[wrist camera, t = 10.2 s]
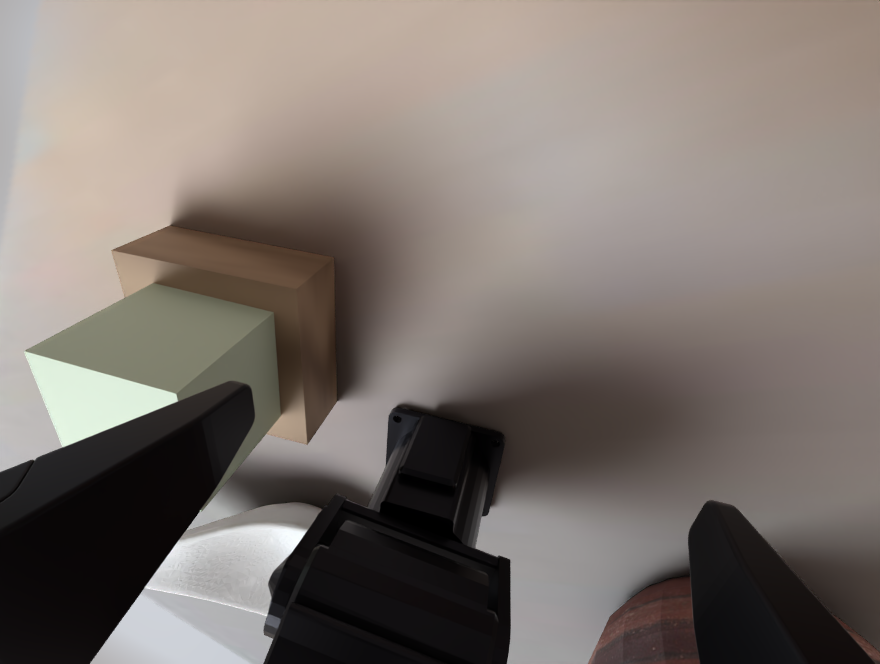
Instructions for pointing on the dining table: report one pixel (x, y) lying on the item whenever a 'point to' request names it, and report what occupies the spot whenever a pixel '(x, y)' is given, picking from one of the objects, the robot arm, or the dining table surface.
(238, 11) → the dining table surface
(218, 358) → the sage block
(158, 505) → the robot arm
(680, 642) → the pottery
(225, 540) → the spoon rest
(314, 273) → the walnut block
